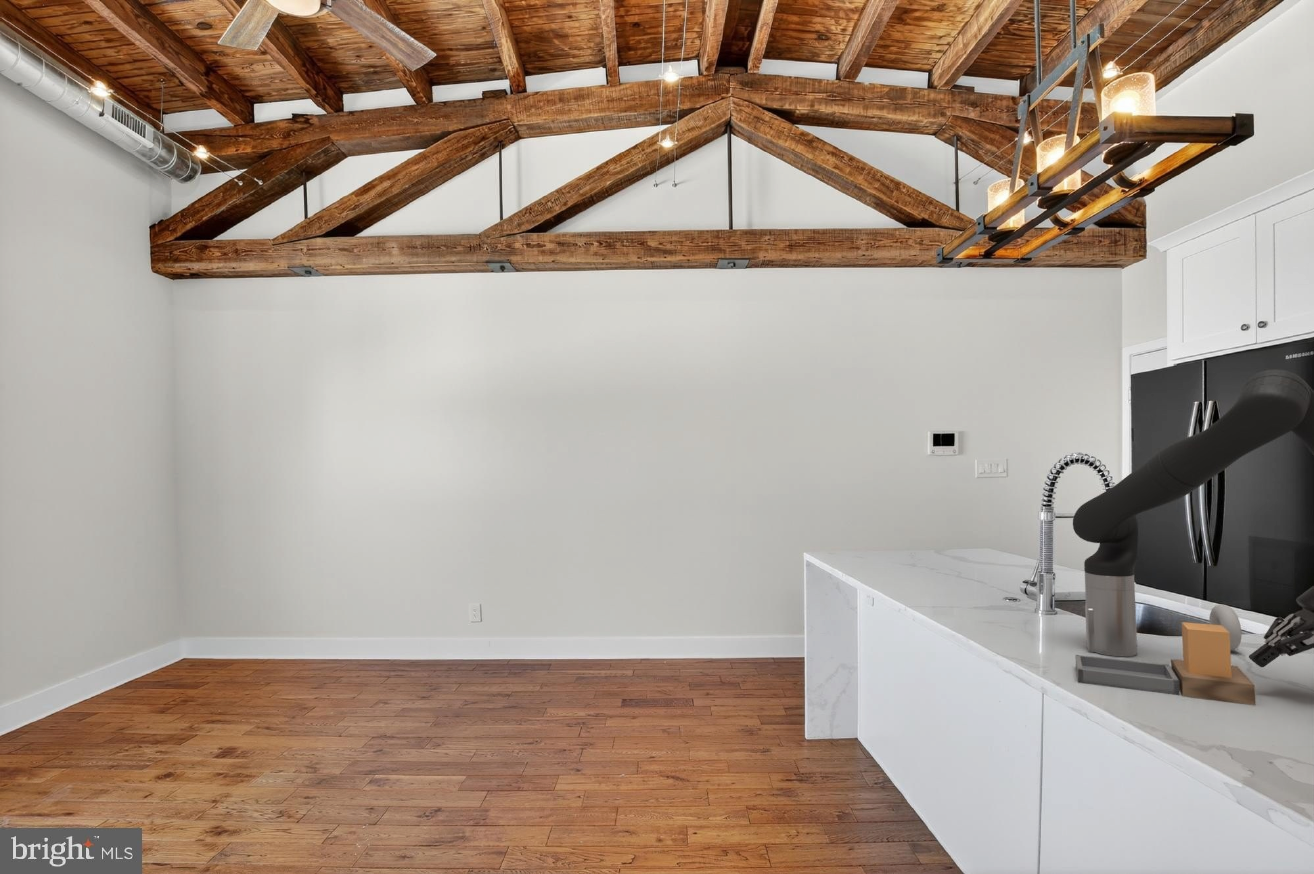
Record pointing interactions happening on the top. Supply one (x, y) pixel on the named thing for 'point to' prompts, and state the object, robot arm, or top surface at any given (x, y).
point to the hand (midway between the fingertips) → (1254, 662)
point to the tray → (1127, 674)
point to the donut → (1227, 623)
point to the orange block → (1206, 649)
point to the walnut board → (1215, 685)
